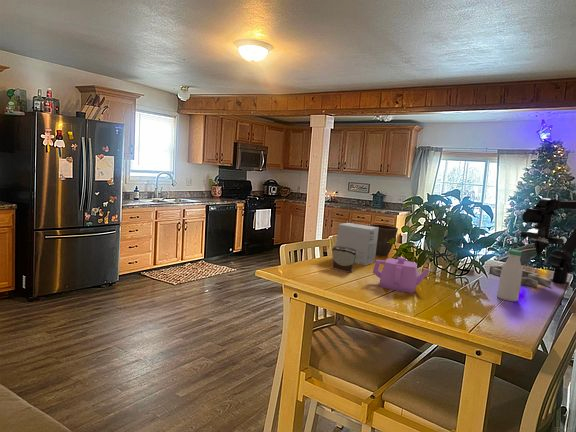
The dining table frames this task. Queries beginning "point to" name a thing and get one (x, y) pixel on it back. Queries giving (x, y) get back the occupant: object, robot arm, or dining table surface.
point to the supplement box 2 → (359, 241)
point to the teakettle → (399, 274)
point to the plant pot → (385, 239)
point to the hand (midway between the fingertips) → (538, 254)
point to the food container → (344, 258)
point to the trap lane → (524, 277)
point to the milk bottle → (510, 277)
